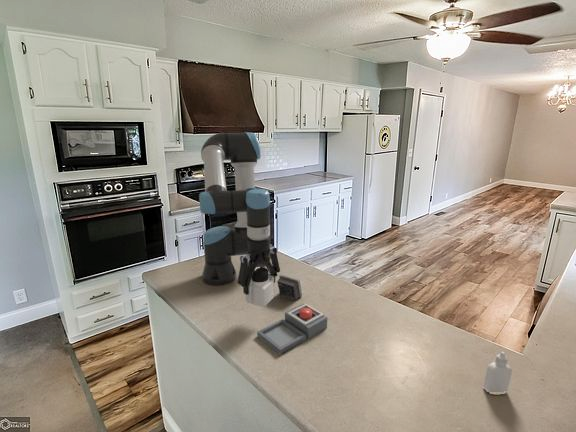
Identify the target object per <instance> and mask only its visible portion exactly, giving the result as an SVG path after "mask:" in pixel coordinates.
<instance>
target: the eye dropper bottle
mask: <svg viewBox="0 0 576 432" xmlns="http://www.w3.org/2000/svg"><path fill="white" fill-rule="evenodd" d="M508 361H509V360H508V357H507V356H506V352H505V351H501V352H500V353H499V354H496V357H495V361H493V362H491V363H489V364H488V365H487V367H486V371H485V372H486V373H485V377H484V382H483V386H484V387H485V388H486V389H487V390H488V391H490V392H504V391H507V390H509V386H510V382H511V378H512V372H513V370H512V367H511V366H510V365H509V364H508ZM507 392H508V391H507Z"/></svg>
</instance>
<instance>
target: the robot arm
mask: <svg viewBox="0 0 576 432" xmlns="http://www.w3.org/2000/svg"><path fill="white" fill-rule="evenodd" d="M261 157H262V156H261V146H260V143H259V139H258V136H257V134H256V133H254V132H247V131H243V132H242V131H241V132H240V131H239V132H218V133H216V134H213V135H211V136H209V138H207V140H206V141H205V142H204V143H203V145H202V147H201V150H200V158H201V160H202V161H203V168H204V169H203V171H204V173H203V174H204V192H203V191H201V192H199V195H198V197H199V199H198V200H199V210H200V213H201V214H202V215H216V214H217V215H218V214H229V213H230V214H231V213H236V216H237V222H236V223H235V224H234V229H231V228H230V227H229V226H227V225H225V226H224V225H220V226H216V227H211V228H209V229H207V230H206V231H205V232H204V233H203V241H202V243H203V249H204V266H203V271H202V274H201V275H202V277H201V278H202V279H201V280H202V282H203V283H204V284H207V285H210V286H222V285H227V284H230V283H231V282H234V281H235V280H236V278H238V279H237V284H238V285H239V286H240V287H242V289H243V290H242V291H243V294H245V301H246V303H247V302H249V303H248V304H250V303H252V289H251V285H250V282H251V279H252V276H253V273H254V271H255V268H257V267H258V265H260V264H262V263H264V265H265V268H266V269H267V270H268V272H269V279H270V280H273V283H274V284H275V283H276V277H278V276H279V275H278V273H280V272H281V267H280V263H279V259H278V258H279V257H278V248H277V247H274V246H273V245H272V246H271V247H270V244H271V237H270V236H271V221H270V220H271V219H270V217H271V213H270V211H271V210H270V209H271V208H270V207H271V199H270V198H271V197H270V192H269V191H268V190H267V189H263V188H256V181H255V167H256V166H257V164H258V160H260V159H261ZM224 161H230V165H231V166H232V167H233V169H234V181H235V182H234V183H235V190H227V182H226V174H225V167H224V166H225V165H224ZM269 253H270V257H271V259H269V257H268V255H269ZM234 256H235V257H236V256H239V260H240V267H239V271H238V272H239V273H238V277H237V271H236V268H235V266H234V264H233V261H232V257H234Z"/></svg>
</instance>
